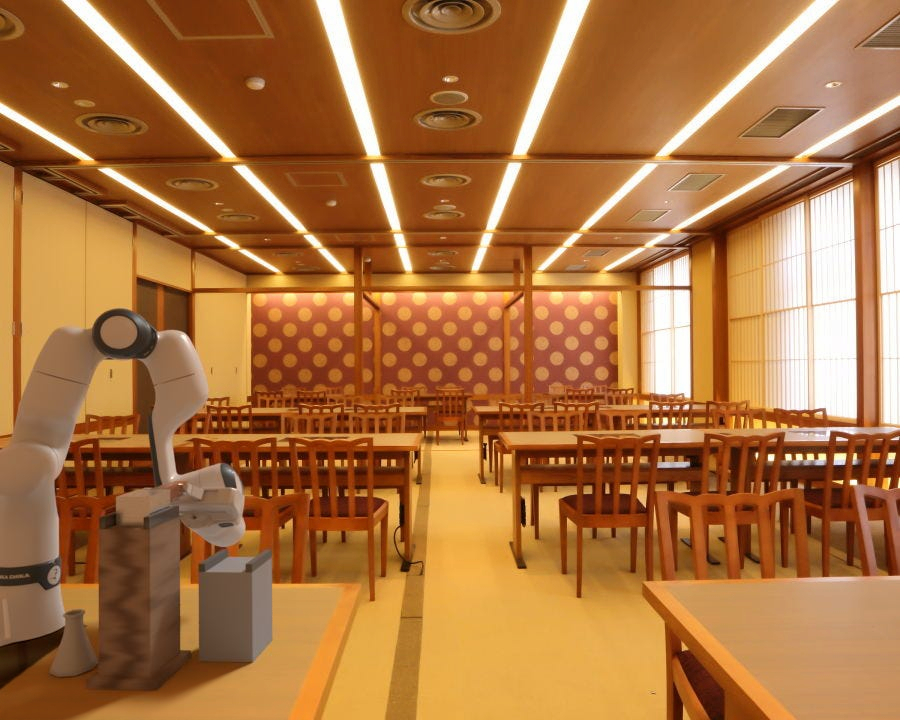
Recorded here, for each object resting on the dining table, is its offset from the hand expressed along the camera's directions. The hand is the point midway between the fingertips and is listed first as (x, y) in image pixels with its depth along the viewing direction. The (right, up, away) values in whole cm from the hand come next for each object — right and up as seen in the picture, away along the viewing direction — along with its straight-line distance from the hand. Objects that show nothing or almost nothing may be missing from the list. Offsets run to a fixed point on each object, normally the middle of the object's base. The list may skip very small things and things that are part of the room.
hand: (174, 487), depth 125 cm
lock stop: (0, -4, -6) cm, 7 cm away
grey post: (+13, -30, -4) cm, 33 cm away
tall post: (0, -30, -13) cm, 32 cm away
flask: (-13, -30, -10) cm, 35 cm away
